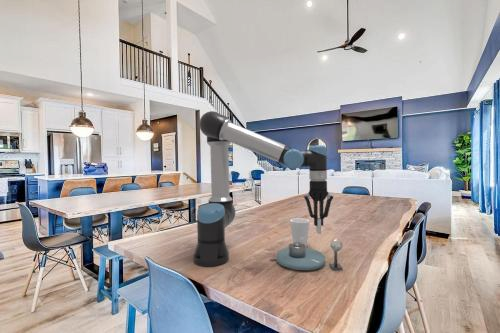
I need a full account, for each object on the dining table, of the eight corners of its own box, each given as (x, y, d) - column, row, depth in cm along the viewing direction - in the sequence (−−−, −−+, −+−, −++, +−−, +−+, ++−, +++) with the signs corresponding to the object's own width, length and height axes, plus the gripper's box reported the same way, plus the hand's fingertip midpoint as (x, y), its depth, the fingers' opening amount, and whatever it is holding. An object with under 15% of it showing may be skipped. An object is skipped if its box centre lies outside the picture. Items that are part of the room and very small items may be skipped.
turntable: (278, 270, 99) (278, 252, 99) (274, 251, 119) (274, 236, 119) (331, 270, 99) (331, 252, 99) (318, 251, 119) (318, 236, 119)
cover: (289, 258, 106) (289, 246, 106) (287, 252, 113) (287, 240, 113) (307, 258, 106) (307, 246, 106) (303, 252, 113) (303, 240, 113)
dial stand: (331, 270, 101) (331, 240, 100) (328, 265, 105) (328, 237, 104) (342, 270, 101) (343, 240, 100) (339, 266, 105) (339, 237, 104)
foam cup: (286, 244, 131) (286, 219, 130) (302, 242, 134) (302, 217, 134) (296, 250, 122) (296, 223, 122) (313, 248, 125) (313, 221, 125)
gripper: (305, 181, 111) (305, 235, 112) (335, 180, 111) (336, 235, 112) (301, 179, 119) (302, 230, 119) (330, 179, 118) (331, 230, 119)
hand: (318, 232), depth 115 cm, fingers closed
